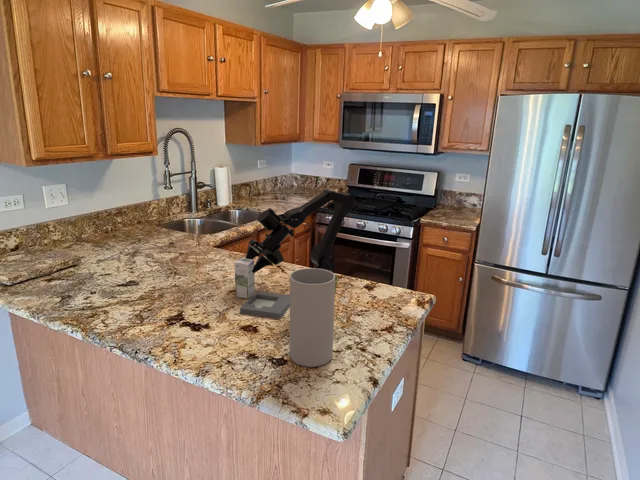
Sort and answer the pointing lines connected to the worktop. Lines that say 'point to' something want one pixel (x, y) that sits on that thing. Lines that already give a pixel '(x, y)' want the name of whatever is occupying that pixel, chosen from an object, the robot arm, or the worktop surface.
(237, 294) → the syrup box
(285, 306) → the pocket plate
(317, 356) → the cylinder vase
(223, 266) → the worktop surface
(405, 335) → the worktop surface
